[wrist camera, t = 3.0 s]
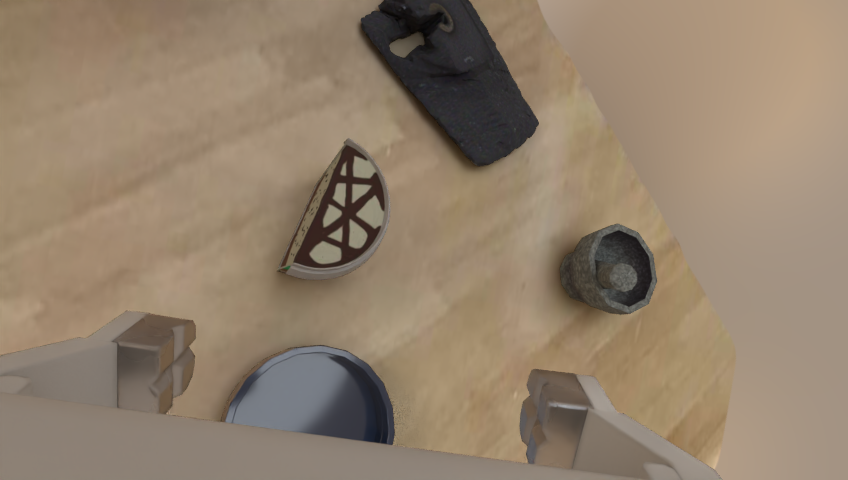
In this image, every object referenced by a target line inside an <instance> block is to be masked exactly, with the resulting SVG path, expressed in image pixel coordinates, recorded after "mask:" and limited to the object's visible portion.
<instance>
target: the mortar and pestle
mask: <svg viewBox="0 0 848 480" xmlns="http://www.w3.org/2000/svg"><path fill="white" fill-rule="evenodd" d="M560 274H561V283H562V286H563V287H564V289H565V290H566V291H567V293H568V294H569V296H570V297H571V298H573V299H576V300H579V301H581V302H585V303H586V304H588V305H590V306H592V307H594V308H597V309H600V310H603V311H606V312H608V313H613V314H631V313H632V312H634V311H636V310H638V309H640V308H642V307H644V306H646V305H648V304H649V302H650V299H651V296H652V293H653V291H654V288H655V285H656V283H657V278H656V271H655V264H654V257H653V254H652V252H651V251H650V249H649V248H648V246H647V245H646V243H645V242H644V240H643V239H642V237H641V236H640V234H639V233H638V232H636V231H634V230H631V229H629V228H627V227H625V226H622V225H620V224H615V225H611V226H608V227H606V228H603V229H601V230H598V231H596V232H593V233H591V234H589V235H587V236H585V237H583V238H582V239H581V240H580V242H579V243H578V245H577V247H576V249H575V251H574V252H573V253H570V254H568V255H566V256H565V258H564V261H563V263H562V265H561V267H560Z"/></svg>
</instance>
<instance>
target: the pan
mask: <svg viewBox="0 0 848 480" xmlns="http://www.w3.org/2000/svg"><path fill="white" fill-rule="evenodd" d="M220 422H226V423H233V424H241V425H248V426H255V427H263V428H270V429H277V430H285V431H292V432H300V433H307V434H314V435H322V436H329V437H336V438H344V439H351V440H358V441H366V442H373V443H381V444H388V445H393V440H394V435H395V434H394V433H395V430H394V418H393V407H392V404H391V401H390V399H389V396H388V394H387V391H386V388H385V386H384V384H383V382H382V381H381V380H380V378H379V377H378V376H377V375H376V373H375V372H374V371H373V370H372V368H371V367H370V366H369V365H368V364H367V363H365V362H364V361H362V360H361V359H359V358H357V357H356V356H354V355H353V354H351V353H349V352H348V351H345V350H341V349H337V348H332V347H328V346H324V345H315V346H304V347H294V348H288V349H285V350H283V351H280V352H278V353H276V354H273V355H271V356H269V357H267V358H265V359H263V360H262V361H261V362H259V363H258V364H257V365H256V366H254V367H253V368H252V369H251V370H250V371H249V372H248V373H247V374H245V375H244V376H243V377H242V379H241V380H240V382H239V383H238V384H237V385H236V387H235V388H234V390H233V392H232V393H231V395H230V397H229V398H228V400H227V402H226V405H225V408H224V411H223V414H222V417H221V421H220Z"/></svg>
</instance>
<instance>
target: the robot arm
mask: <svg viewBox="0 0 848 480" xmlns="http://www.w3.org/2000/svg"><path fill="white" fill-rule="evenodd" d="M195 339H196V325H195V323H194V321H193V320H186V319H180V318H174V317H168V316H161V315H155V314H150V313H144V312H135V311H125V312H124V313H122V314H121V315H119V316H118V317H116V318H115V319H114V320H112V321H111V322H109V323H108V324H106V325H105V326H103V327H102V328H101V329H99V330H98V331H96V332H95V333H93V334H92V335H90V336H89V337H88V338H80V337H79V338H75V339H70V340H66V341H62V342H57V343H53V344H49V345H44V346H40V347H36V348H31V349H27V350H23V351H18V352H14V353H10V354H5V355H1V356H0V480H722V478H721V477H720V476H719V475H718V473H717V472H716V471H715V470H714V469H712V468H711V467H709V466H708V465H706V464H704V463H703V462H701V461H699V460H698V459H696V458H695V457H693V456H691V455H690V454H688V453H687V452H685V451H683V450H682V449H680V448H679V447H677V446H675V445H674V444H672V443H670V442H669V441H667V440H666V439H664V438H662V437H661V436H659V435H658V434H656V433H654V432H653V431H651V430H649V429H648V428H646V427H645V426H643V425H641V424H640V423H638V422H637V421H635V420H633V419H632V418H630V417H629V416H627V415H625V414H624V413H617V411H616V410H615V408H614V406H613V405H612V403H611V402H610V400H609V398H608V397H607V395H606V394H605V392H604V390H603V389H602V387H601V386H600V384H599V382H598V381H597V379H596V378H595V377H593V376H588V375H577V374H573V373H565V372H556V371H548V370H539V369H533V370H531V373H530V375H529V378H528V382H527V388H528V391H529V394H530V396H529V397H528V398H527V399H525V400H524V401H523V404H522V409H521V414H520V434H521V438H522V441H523V442H524V443H525V444H526V445H527V446H528V447H527V452H526V456H527V459H528V463H529V464H528V463H521V462H513V461H506V460H499V459H491V458H484V457H476V456H469V455H462V454H454V453H447V452H440V451H432V450H425V449H417V448H410V447H403V446H395V445H388V444H381V443H373V442H366V441H358V440H351V439H344V438H336V437H329V436H322V435H314V434H307V433H300V432H292V431H285V430H277V429H270V428H263V427H255V426H248V425H241V424H233V423H226V422H219V421H211V420H204V419H196V418H189V417H182V416H174V415H167V414H166V413H167V412H168V410H169V409H170V408H171V407H172V400H173V398H175V397H177V396H180V395H182V394H183V392H184V391H185V390H186V388H187V387H188V385H189V382H190V380H191V378H192V375H193V370H194V363H195V355H194V354H193V352H192V351H191V349H190V348H189V345H190V344H191V343H192V342H193V341H194V340H195Z"/></svg>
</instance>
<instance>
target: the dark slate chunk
mask: <svg viewBox="0 0 848 480" xmlns="http://www.w3.org/2000/svg"><path fill="white" fill-rule="evenodd" d="M378 7H379V9H380V12H377V11H373V12H372V13H371V14H369V15H366V16H365V18H361V23H362V30H363V31H365V32H366V35H367V36H368V37H369V38H370V39H371V40H372V42H373V43H374V45H376V46H377V47H378V48H379V51H380V53H381V54H382V55H383V56H384V57H385V59H386V61H387V62H388V63H389V65H390V66H391V68H392V69H393V71H394V72H395V73H396V75H398V76H399V77H400V79H401V81H402V82H403V83H404V84H405V85H406V87H407V88H408V89H409V91H411V92H412V93H413V94H414V95H415V96H416V98H417V99H419V100H420V101H421V102H422V104H423V105H424V106H425V107H426V109H427V110H428V112H429V114H430V115H431V116H433V117H434V118H435V120H437V122H438V124H439V125H440V126H441V127H442V128H443V129H444V130H445V131H446V132H447V134H449V136H450V138H451V139H452V140H454V141H455V143H456V144H458V146H459V147H460V149H461V150H462V152H463V153H464V154H465V155H466V157H468V158H469V159H470V160H471V161H472V162H473V163H474V164H476V165H477V166H483V165H489V164H491V163H493V162H494V161H496V160H499V159H500V158H502V157H506V156H507V155H508V154H510V153H511V152H512V151H513V150H514V149H516V148H518V147H520V146H521V145H522V144H523V143H524V142H525V141H526V139H527V138H530V137H531V136H532V135H533V133H534V132H535V130H536V127H537V126H538V124H539V122H538V120H537V118H536V116H535V115H534V114H533V112H532V110H531V108H530V107H529V105H528V104H527V102H526V101H525V100H524V98H523V97H522V95H521V92H520V90H519V88H518V87H517V84H516V83H515V81H514V80H513V78H512V76H511V74H510V72H509V70H508V68H507V65H506V63H505V62H504V60H503V58H502V56H501V55H500V53H499V51H498V50H497V49H496V44H495V42H494V41H493V40H492V38H491V36H490V35H489V33H488V30H487V28H486V27H485V25H484V24H483V22H482V21H481V20H480V17H479V15H478V14H477V12H476V10H475V9H474V8H473V6H472V4H471V3H470V2H469V0H384V1H383V2H382V3H381V4H380V5H379V6H378ZM417 31H419V32H421V33H423V35H424V37H425V45H424V46H422V45H419V46H417V47H416V48H415V49H414V50H412V51H411V52H410V53H409V54H408V55H407V56H406V57H405V58H402V57H399V56H396V55H395V54H393V53H392V52H391V51H390V47H389V44H390V42H392V41H395V40H396V39H398V38H405V37H407V36H410V35H411V33H414V32H417Z"/></svg>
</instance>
